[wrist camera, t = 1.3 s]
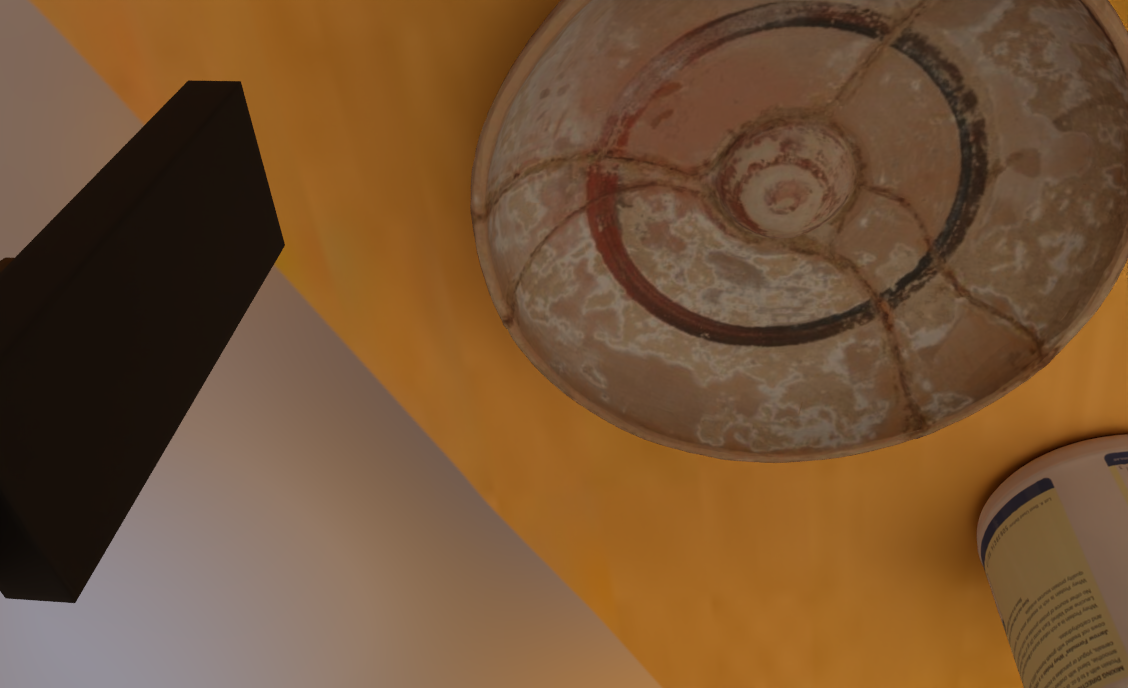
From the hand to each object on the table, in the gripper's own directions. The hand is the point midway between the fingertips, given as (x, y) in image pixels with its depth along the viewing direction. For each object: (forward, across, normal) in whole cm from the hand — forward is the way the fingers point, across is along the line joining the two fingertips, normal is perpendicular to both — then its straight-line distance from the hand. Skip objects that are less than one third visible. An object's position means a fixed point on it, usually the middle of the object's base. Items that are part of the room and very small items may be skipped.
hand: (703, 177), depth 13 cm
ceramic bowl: (+21, +5, -12) cm, 24 cm away
